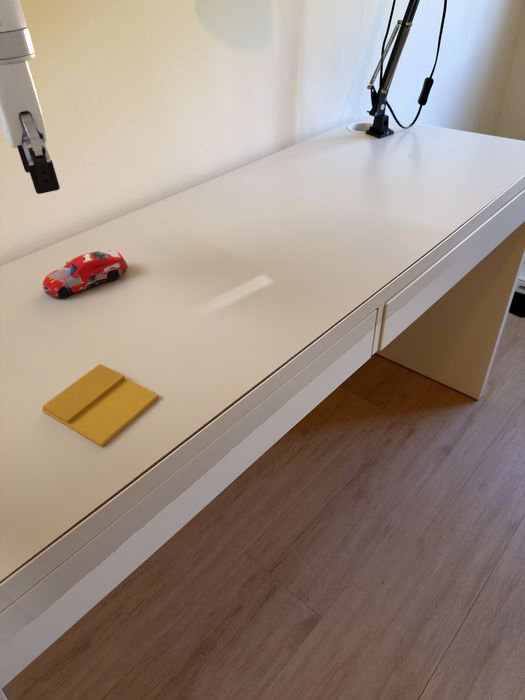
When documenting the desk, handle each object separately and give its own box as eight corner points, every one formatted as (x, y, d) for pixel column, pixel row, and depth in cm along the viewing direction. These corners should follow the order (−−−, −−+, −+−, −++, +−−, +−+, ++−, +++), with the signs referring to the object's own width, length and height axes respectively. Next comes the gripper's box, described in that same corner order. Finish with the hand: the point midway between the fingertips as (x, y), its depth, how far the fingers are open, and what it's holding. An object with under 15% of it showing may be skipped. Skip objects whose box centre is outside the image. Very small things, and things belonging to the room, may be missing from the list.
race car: (51, 304, 79) (42, 281, 77) (41, 288, 83) (33, 266, 80) (132, 275, 84) (127, 253, 82) (120, 262, 88) (114, 240, 85)
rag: (101, 447, 57) (99, 441, 56) (42, 412, 61) (40, 405, 61) (159, 397, 62) (157, 391, 62) (101, 368, 67) (99, 362, 66)
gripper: (-37, 41, 71) (7, 168, 82) (-26, 61, 59) (24, 207, 69) (21, 35, 73) (56, 158, 84) (43, 52, 61) (81, 194, 72)
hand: (42, 180), depth 77 cm, fingers open, 9 cm apart
